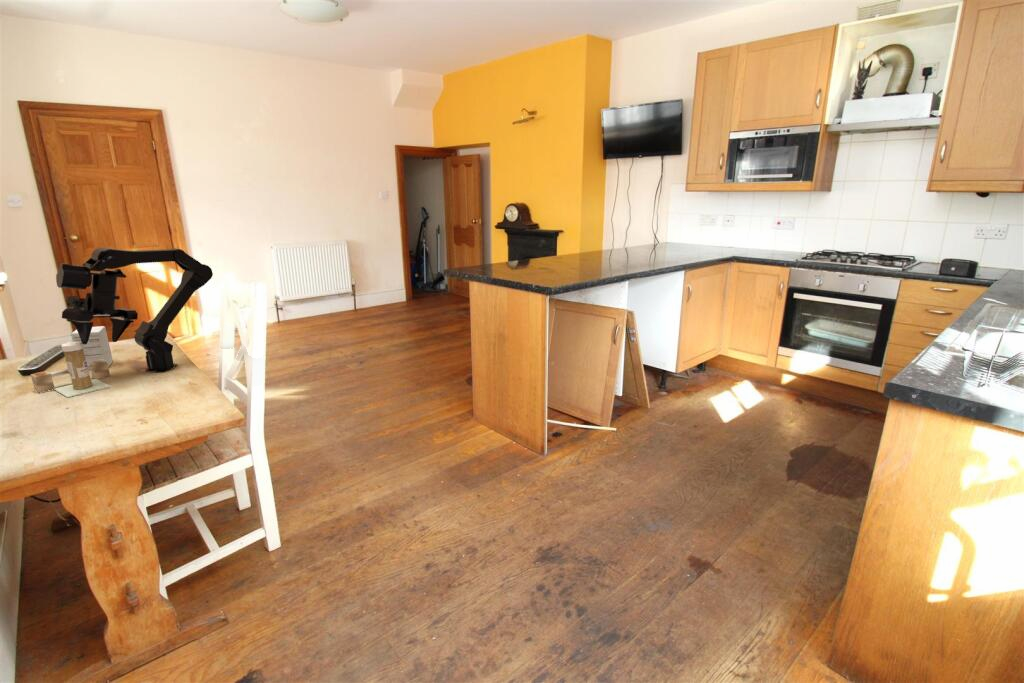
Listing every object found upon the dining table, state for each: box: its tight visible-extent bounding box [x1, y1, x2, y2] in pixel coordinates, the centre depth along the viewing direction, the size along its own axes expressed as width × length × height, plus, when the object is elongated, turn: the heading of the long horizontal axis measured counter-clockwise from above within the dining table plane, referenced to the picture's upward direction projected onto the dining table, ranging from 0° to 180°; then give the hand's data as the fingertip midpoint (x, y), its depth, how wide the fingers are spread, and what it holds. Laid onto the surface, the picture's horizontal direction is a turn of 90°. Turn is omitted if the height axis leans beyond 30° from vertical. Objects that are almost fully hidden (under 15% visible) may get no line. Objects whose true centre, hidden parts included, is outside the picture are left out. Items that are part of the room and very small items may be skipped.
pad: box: [53, 378, 111, 399], centre depth 146 cm, size 10×10×1 cm
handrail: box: [30, 359, 111, 393], centre depth 149 cm, size 17×4×5 cm, turn 147°
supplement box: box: [70, 325, 114, 371], centre depth 162 cm, size 7×7×13 cm
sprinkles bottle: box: [61, 341, 93, 389], centre depth 144 cm, size 5×5×14 cm
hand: (99, 343), depth 148 cm, fingers open, 9 cm apart
